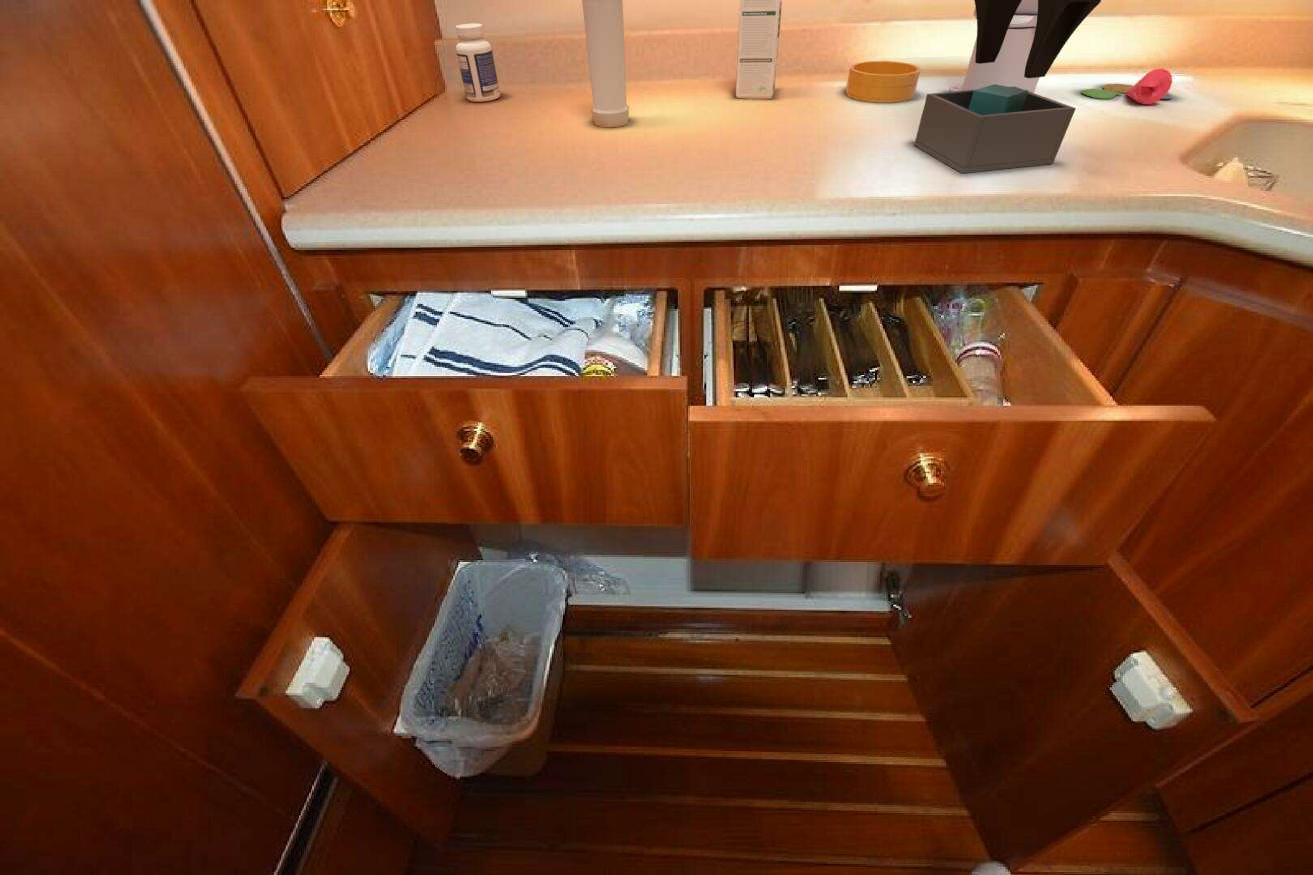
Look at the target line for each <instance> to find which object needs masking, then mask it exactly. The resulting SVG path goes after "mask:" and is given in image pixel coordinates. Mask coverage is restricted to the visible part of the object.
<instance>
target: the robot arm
mask: <svg viewBox="0 0 1313 875" xmlns="http://www.w3.org/2000/svg"><path fill="white" fill-rule="evenodd" d="M973 1H974V6H975V7H974V11H973V16H974V17H975V20H976V38H975V40H974V41H975V42H974V45H973V49H972V51H971V54H970V59H969V63H968V65H967V69H966V72H965V76H964V80H963V83H962V86H956V87H955V86H954V87H949V88H948V90H947V92H954V91H966V90H976V89H980V88H983V87H987V86H990V85H994V84H996V85H1001V86H1007V87H1013V86H1015V87H1017V88H1020V89H1023V90H1028V91H1029V92H1032V93H1034V94H1035V91H1036V88H1037V86H1038V83H1039V80H1040V78H1044V77H1046V75H1047V73H1048V72H1049V70H1050V69H1051V67H1052V65H1053V64H1054V62H1055V60H1056V59H1057V58H1058V56H1059V54H1060V53H1061V51H1062V49H1063V48H1064V46H1065V45H1066V44H1067V42H1068V40H1069V39H1070V38H1071V36H1072V35H1073V34H1074V32H1075V31H1077V28H1079V26H1080V25H1081V24H1082V23H1083V22H1084V20H1085V19H1086V18H1088V16H1089V15H1090V14H1091V13H1092V11H1094V9H1095V8H1096V7H1098V5H1100V4H1101V2H1102V0H973Z"/></svg>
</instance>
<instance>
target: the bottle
mask: <svg viewBox="0 0 1313 875" xmlns="http://www.w3.org/2000/svg"><path fill="white" fill-rule="evenodd" d="M581 2H582V3H581V4H582V12H583V20H584V31H585V39H586V41H585V42H586V51H587V58H588V59H587V60H588V67H589V77H590V88H591V96H592V104H593V106H592V108H591V113H592V121H593V124H594V125H595V126H596V127H599V128H617V127H622V126H625V125H627V124H628V123H629V118H630V108H629V106H628V104H627V82H626V81H627V80H626V57H625V56H626V55H625V28H624V5H623V4H624V3H623V0H581Z"/></svg>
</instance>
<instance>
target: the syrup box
mask: <svg viewBox="0 0 1313 875" xmlns="http://www.w3.org/2000/svg"><path fill="white" fill-rule="evenodd" d="M782 5H783V0H739V15H738V33H737V34H738V36H737V56H736V57H737V60H736V76H735V78H736V79H735V97H736V98H739V99H752V100H753V99H757V100H759V99H760V100H761V99H763V100H766V99H772V98H773V97H774V93H775V90H776V78H777V66H778V55H779V46H780V45H779V43H780V32H781V18H782V7H783V6H782Z"/></svg>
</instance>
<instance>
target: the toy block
mask: <svg viewBox="0 0 1313 875" xmlns="http://www.w3.org/2000/svg"><path fill="white" fill-rule="evenodd" d="M1027 93H1028V90H1023V89H1018V88H1012V87H1007V86H1001V85H996V84H994V85H990V86H987V87H983V88H980V89H976V90H974V92H973V95H972V99H971V102H970V105H969V109H968V110H970V111H973V112H975V113H977V114H980V115H988V114H1000V113H1011V112H1021V110H1022V107H1023V105H1024V102H1025V99H1026V96H1027Z"/></svg>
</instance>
